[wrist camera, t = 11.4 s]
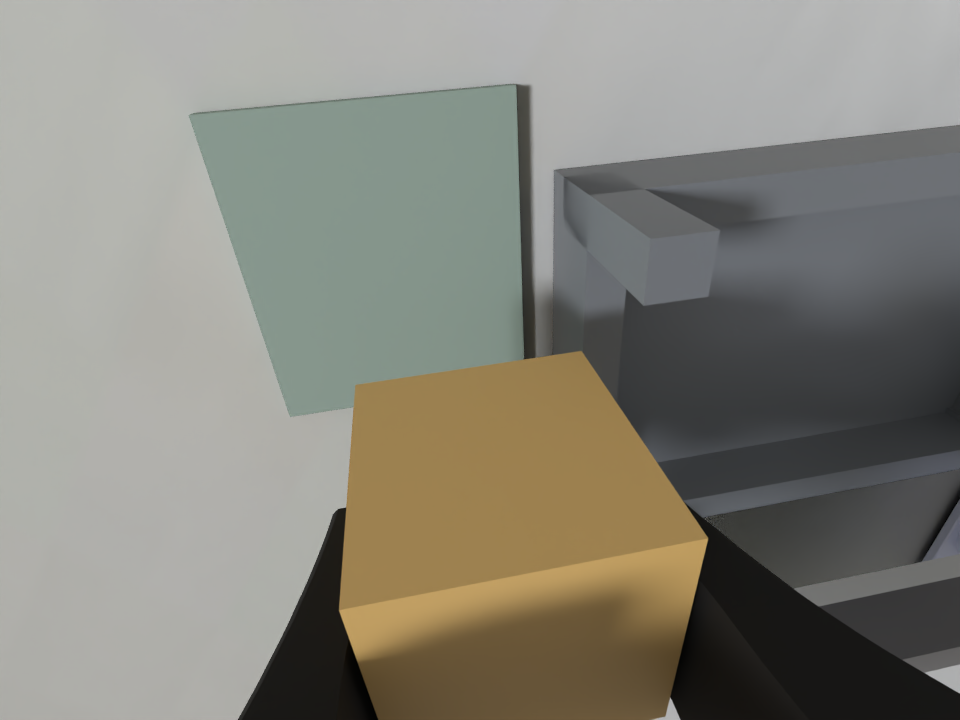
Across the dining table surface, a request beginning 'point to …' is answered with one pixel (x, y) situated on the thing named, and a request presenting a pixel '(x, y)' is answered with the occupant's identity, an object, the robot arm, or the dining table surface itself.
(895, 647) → the lid
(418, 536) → the block
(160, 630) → the dining table surface
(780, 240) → the case
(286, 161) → the mat
